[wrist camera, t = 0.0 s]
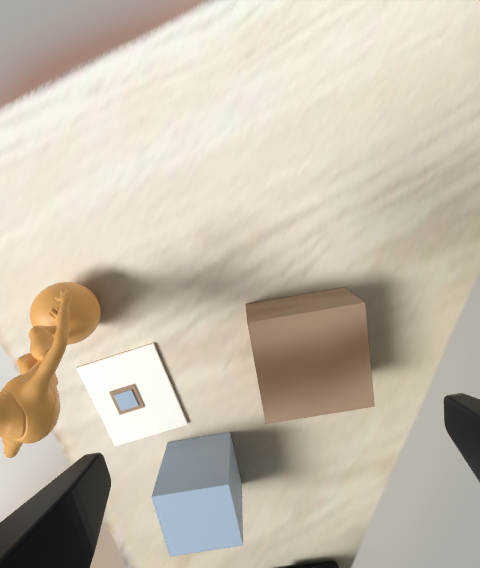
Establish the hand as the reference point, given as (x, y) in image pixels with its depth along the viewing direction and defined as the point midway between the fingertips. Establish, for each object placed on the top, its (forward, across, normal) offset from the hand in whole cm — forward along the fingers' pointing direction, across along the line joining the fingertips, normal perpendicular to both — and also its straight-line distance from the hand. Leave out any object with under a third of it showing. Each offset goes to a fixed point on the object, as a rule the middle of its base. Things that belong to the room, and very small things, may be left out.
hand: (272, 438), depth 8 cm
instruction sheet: (+15, +10, +6) cm, 19 cm away
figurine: (+15, +11, -1) cm, 19 cm away
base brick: (+15, -3, +4) cm, 16 cm away
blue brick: (+15, +6, +13) cm, 21 cm away
